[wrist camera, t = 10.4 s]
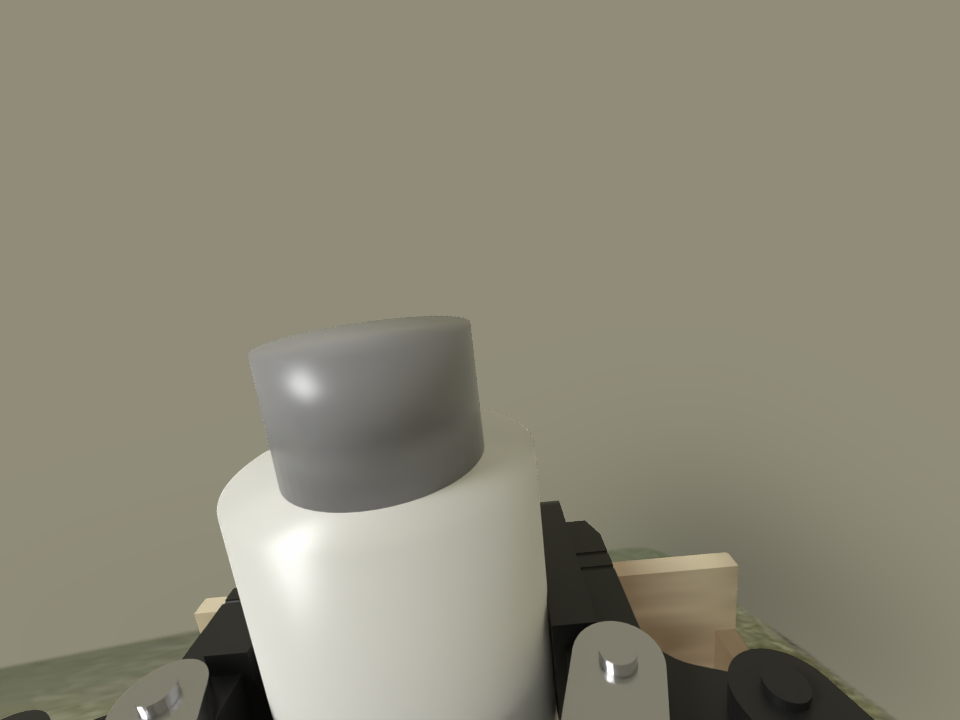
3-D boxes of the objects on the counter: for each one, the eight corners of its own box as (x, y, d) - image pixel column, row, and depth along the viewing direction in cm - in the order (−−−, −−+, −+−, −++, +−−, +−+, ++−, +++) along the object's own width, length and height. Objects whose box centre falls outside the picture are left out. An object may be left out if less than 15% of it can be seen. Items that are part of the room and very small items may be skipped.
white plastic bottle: (328, 1171, 8) (66, 403, 4) (385, 823, 12) (278, 326, 9) (607, 1152, 8) (548, 351, 4) (558, 809, 12) (511, 300, 9)
